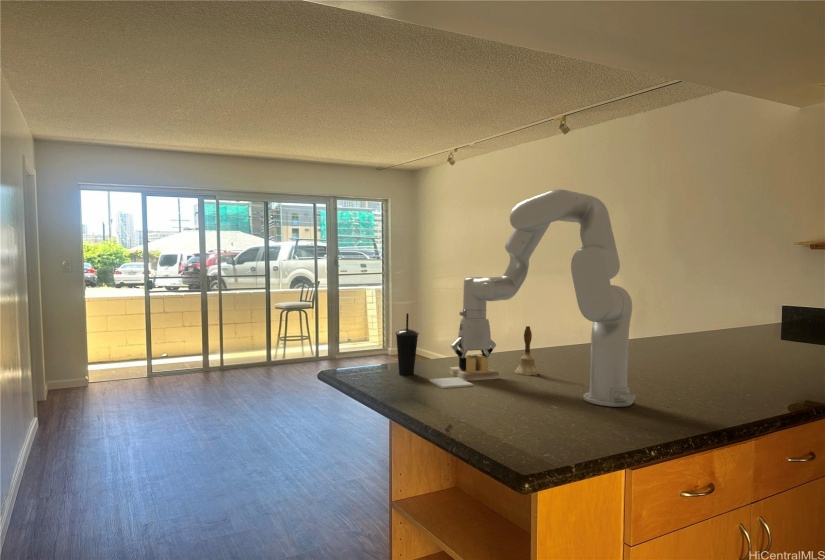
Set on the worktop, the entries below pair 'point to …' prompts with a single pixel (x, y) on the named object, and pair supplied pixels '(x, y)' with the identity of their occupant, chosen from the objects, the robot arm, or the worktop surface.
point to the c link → (471, 363)
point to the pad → (450, 382)
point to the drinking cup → (406, 349)
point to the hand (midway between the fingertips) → (473, 368)
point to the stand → (473, 373)
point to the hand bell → (527, 357)
